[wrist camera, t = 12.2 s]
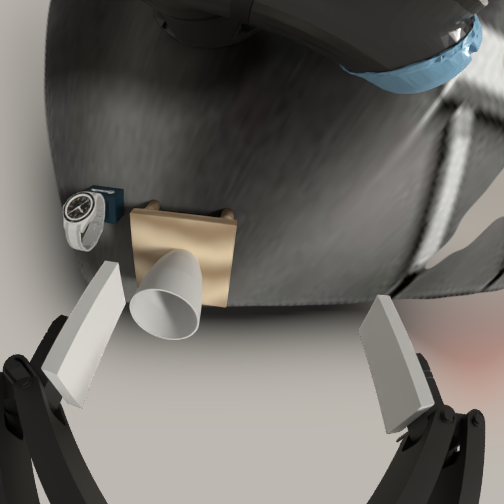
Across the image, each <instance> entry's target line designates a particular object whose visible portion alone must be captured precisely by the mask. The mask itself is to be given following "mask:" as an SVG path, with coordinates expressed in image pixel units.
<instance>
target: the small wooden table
mask: <svg viewBox="0 0 504 504" xmlns="http://www.w3.org/2000/svg"><path fill="white" fill-rule="evenodd" d="M159 209H160V203H159V202H158V201H157V200H152V201H150V203H149V204H148V205H147V206H146V208H145V209H138V208H134V209H133V210H132V211H131V212H130V223H131V235H132V246H133V256H134V264H135V272H136V280H137V287H139V285H140V284H141V282H142V280H143V279H144V277H145V275H146V274H147V273H148V272H149V271H150V269H151V268H152V267H153V266H154V265H155V263H156V262H157V261H158V260H159V259H160V258H162V257H163V256H164V255H165V254H167V253H168V252H170V251H171V250H174V249H184V250H187V251H189V252H191V253H192V254H194V255H195V256H196V258H197V259H198V261H199V265H200V270H201V274H202V304H205V305H213V306H220V307H226V306H227V298H228V290H229V282H230V274H231V266H232V258H233V250H234V243H235V235H236V228H237V220H233V218H234V212H233V210H231V209H229V208H226V209H224V210H223V211H222V213H221V217H220V218H217V217H209V216H201V215H192V214H184V213H175V212H166V211H158V210H159Z"/></svg>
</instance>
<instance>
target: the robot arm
mask: <svg viewBox="0 0 504 504" xmlns="http://www.w3.org/2000/svg"><path fill="white" fill-rule="evenodd" d="M142 1H144V2H145V3H147V4H149V5H150V6H152V8H153V13H154V16H155V19H156V21H157V23H158V24H159V26H160V27H161V28H162V29H163V30H164V31H165V32H166V33H167V34H168V35H170V36H171V37H173V38H174V39H176V40H178V41H180V42H182V43H184V44H187V45H190V46H194V47H200V48H220V47H226V46H230V45H234V44H237V43H239V42H242V41H244V40H246V39H248V38H250V37H251V36H253V35H255V34H256V33H257V32H259V31H260V30H261V29H263V30H265V31H268V32H271V33H273V34H276V35H278V36H281V37H283V38H286V39H288V40H290V41H293V42H295V43H297V44H300V45H302V46H304V47H306V48H308V49H310V50H313V51H315V52H317V53H319V54H321V55H323V56H325V57H327V58H329V59H331V60H332V61H334V62H336V63H338V64H339V66H340V67H341V68H342V69H344V70H345V71H347V72H348V73H350V74H354V75H356V76H360V77H363V78H364V79H366V80H368V81H370V82H371V83H373V84H375V85H376V86H378V87H380V88H382V89H384V90H386V91H390V92H394V93H399V94H412V93H419V92H423V91H427V90H430V89H432V88H435V87H437V86H439V85H441V84H443V83H445V82H447V81H449V80H450V79H452V78H453V77H455V76H456V75H457V74H459V73H460V72H461V71H462V70H463V69H464V68H465V67H466V66H467V65H468V64H469V63H470V62H471V60H472V58H471V55H470V54H471V53H473V52H476V51H478V49H479V47H480V44H481V41H482V28H481V25H480V22H479V20H478V17H477V15H476V13H477V12H478V11H479V10H481V9H482V8H483V7H485V6H486V5H487V4H488V0H142ZM125 304H126V303H125V298H124V293H123V288H122V282H121V276H120V270H119V264H118V263H117V262H110V261H104V263H103V264H102V266H101V267H100V269H99V270H98V272H97V273H96V275H95V276H94V278H93V279H92V281H91V282H90V284H89V285H88V287H87V288H86V290H85V291H84V293H83V294H82V296H81V298H80V299H79V301H78V303H77V304H76V306H75V307H74V309H73V311H72V312H71V314H70V316H69V317H67V316H64V315H60V316H59V317H58V318H57V319H56V320H54V321H53V322H52V324H51V326H50V327H49V329H48V332H47V333H46V334H45V336H44V337H43V338H44V339H43V340H42V341H41V343H40V345H39V346H38V348H37V350H36V352H35V354H34V355H33V358H32V359H31V361H30V363H29V361H28V360H27V359H26V358H25V357H24V356H23V355H19V354H16V355H13V356H11V357H9V358H8V359H7V360H6V361H5V363H4V366H3V372H0V504H40V502H39V498H38V494H37V489H36V485H35V480H34V474H33V468H32V462H31V458H32V461H33V464H34V467H35V469H36V472H37V474H38V477H39V479H40V482H41V484H42V486H43V488H44V491H45V493H46V495H47V497H48V500H49V502H50V504H107V502H106V500H105V498H104V497H103V495H102V493H101V492H100V490H99V488H98V486H97V484H96V483H95V481H94V479H93V477H92V475H91V473H90V471H89V469H88V467H87V466H86V463H85V461H84V459H83V457H82V455H81V453H80V451H79V448H78V446H77V444H76V441H75V439H74V437H73V434H72V432H71V429H70V427H69V424H68V421H67V419H66V416H65V414H64V410H63V408H62V405H61V404H60V401H61V399H62V397H63V399H64V400H65V401H66V402H67V403H68V404H71V405H73V406H76V407H79V408H82V407H83V404H84V401H85V398H86V396H87V393H88V390H89V388H90V385H91V382H92V380H93V377H94V374H95V372H96V370H97V367H98V365H99V362H100V360H101V357H102V355H103V353H104V350H105V348H106V345H107V343H108V341H109V338H110V336H111V334H112V332H113V330H114V327H115V325H116V323H117V321H118V319H119V316H120V314H121V312H122V310H123V308H124V306H125ZM358 331H359V334H360V337H361V340H362V344H363V347H364V350H365V354H366V357H367V360H368V364H369V367H370V371H371V374H372V378H373V381H374V385H375V388H376V393H377V396H378V400H379V404H380V408H381V412H382V416H383V420H384V424H385V429H386V433H387V434H391V433H396V432H400V431H402V430H403V429H404V428H406V427H407V428H408V432H406V433H405V434H404V435H402V436H401V437H399V438H398V439H397V441H396V442H399V441H400V440H402V439H403V440H402V442H401V443H400V446H399V448H398V450H397V452H396V455H395V456H394V458H393V460H392V462H391V464H390V466H389V468H388V469H387V471H386V473H385V475H384V477H383V478H382V480H381V482H380V483H379V485H378V487H377V488H376V490H375V492H374V493H373V495H372V496H371V498H370V500H369V501H368V503H367V504H479V498H480V492H481V485H482V476H483V466H484V452H485V420H484V416H483V414H482V413H481V412H480V411H479V410H477V409H473V410H471V411H470V412H468V413H467V414H458V413H455V412H454V410H453V409H452V408H451V407H450V406H448V405H444V403H443V401H442V399H441V396H440V393H439V390H438V388H437V385H436V383H435V380H434V378H433V375H432V372H430V368H429V365H428V363H427V361H426V360H425V358H424V357H423V356H422V355H421V354H420V353H417V354H416V353H415V351H414V348H413V346H412V344H411V341H410V339H409V337H408V335H407V332H406V330H405V328H404V326H403V323H402V321H401V319H400V317H399V315H398V313H397V311H396V308H395V306H394V304H393V302H392V300H391V298H390V296H386V295H377V297H376V299H375V301H374V303H373V305H372V307H371V308H370V310H369V312H368V314H367V316H366V317H365V319H364V321H363V323H362V325H361V326H360V328H359V330H358ZM458 446H460V450H459V451H457V447H458Z"/></svg>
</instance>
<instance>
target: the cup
mask: <svg viewBox="0 0 504 504" xmlns="http://www.w3.org/2000/svg"><path fill="white" fill-rule="evenodd" d="M201 304H202V274H201V270H200V265H199V261H198V259H197V258H196V256H195V255H194V254H192V253H191V252H189V251H187V250H184V249H174V250H171V251H170V252H168V253H167V254H165V255H164V256H163V257H162V258H160V259H159V260H158V261H157V262H156V263H155V265H154V266H153V267H152V268H151V269H150V271H149V272H148V273H147V274H146V275H145V277H144V279H143V280H142V282H141V284H140V285H139V287H138V289H137V291H136V292H135V294H134V296H133V298H132V299H131V302H130V312H131V315H132V317H133V318H134V320H135V322H136V323H137V324H138V325H139V326H140V327H141V328H142V329H144V330H145V331H147V332H148V333H150V334H152V335H154V336H157V337H160V338H163V339H169V340H179V339H184V338H187V337H189V336H191V335H193V334H194V333H195V332H196V330H197V329H198V326H199V320H200V312H201Z"/></svg>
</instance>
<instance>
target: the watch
mask: <svg viewBox="0 0 504 504" xmlns="http://www.w3.org/2000/svg"><path fill="white" fill-rule="evenodd" d="M123 215H124V189H118V188H110V187H102V186H94V185H93V186H92V187H91V188H89V189H88V190H87V191H86V192H85V191H83V192H79V193H76V194H74V195H73V196H71V197H70V198H69V199H68V200H67V202H66V203H65V204H64V205H63V217H64V229H65V233H66V238H67V242H68V244H69V245H70V246H71V247H72V248H74V249H78V250H82V251H90V250H91V249H92V248H93V247H94V246H96V244H97V242H98V240H99V238H100V235H101V233H102V231H103V227H104V224H103V223H104V222H107V223H112V224H116V223H117V222H118V221H119V220H120V218H121V217H122V216H123ZM91 221H92V222H91ZM88 224H89V226H88V229H87V231H86V233H85V235H84V237H83V242H81V237H80V236H81V233H83V232H84V231H85V229H86V227H87V225H88Z"/></svg>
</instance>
